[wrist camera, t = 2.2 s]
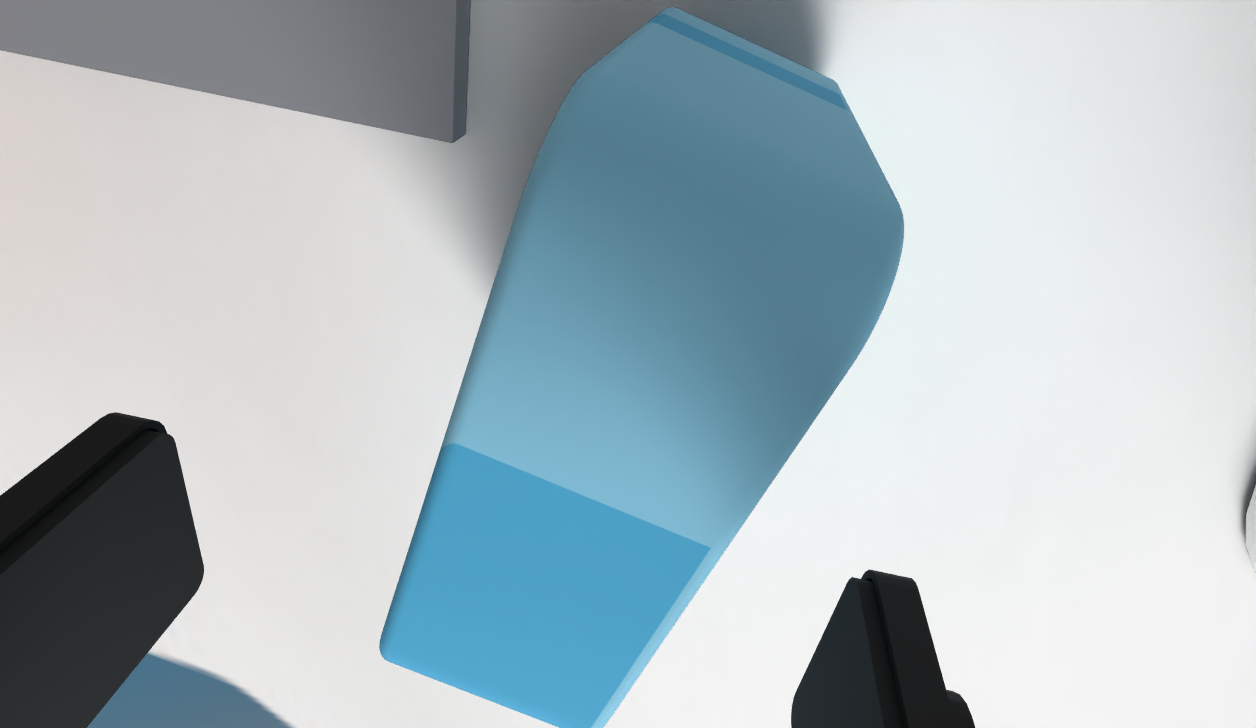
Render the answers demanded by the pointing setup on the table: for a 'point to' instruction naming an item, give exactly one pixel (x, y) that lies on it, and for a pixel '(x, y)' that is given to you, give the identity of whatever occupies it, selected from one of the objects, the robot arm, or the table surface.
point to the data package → (642, 365)
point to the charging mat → (271, 52)
